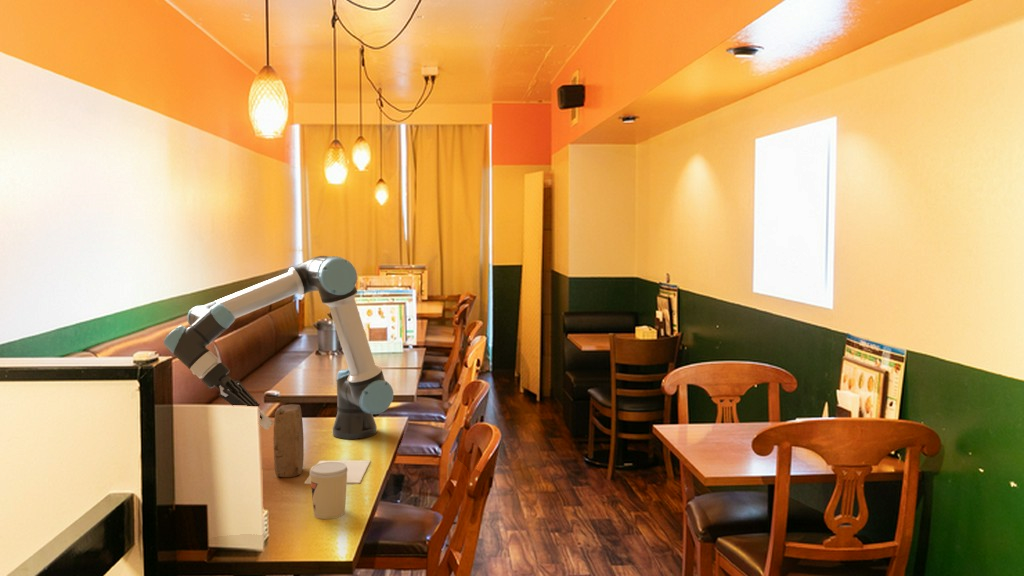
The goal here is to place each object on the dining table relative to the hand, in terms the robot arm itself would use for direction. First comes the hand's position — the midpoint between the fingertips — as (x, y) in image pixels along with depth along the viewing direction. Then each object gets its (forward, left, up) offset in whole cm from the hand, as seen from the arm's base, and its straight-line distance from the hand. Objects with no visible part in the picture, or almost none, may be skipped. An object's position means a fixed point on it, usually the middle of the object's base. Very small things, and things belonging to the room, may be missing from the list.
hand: (270, 426), depth 223 cm
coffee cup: (+32, +23, -14) cm, 42 cm away
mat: (0, +20, -14) cm, 24 cm away
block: (0, +5, -14) cm, 15 cm away
